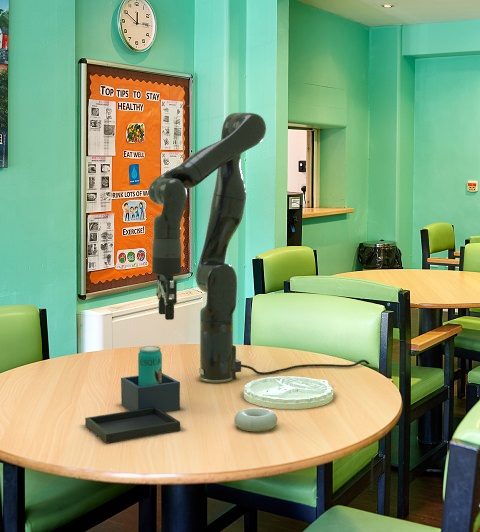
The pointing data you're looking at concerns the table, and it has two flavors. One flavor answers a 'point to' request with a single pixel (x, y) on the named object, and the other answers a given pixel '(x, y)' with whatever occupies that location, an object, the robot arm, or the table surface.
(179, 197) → the robot arm
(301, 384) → the medallion
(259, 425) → the donut
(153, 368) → the beverage can
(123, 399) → the caddy
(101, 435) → the tray
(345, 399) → the table surface
